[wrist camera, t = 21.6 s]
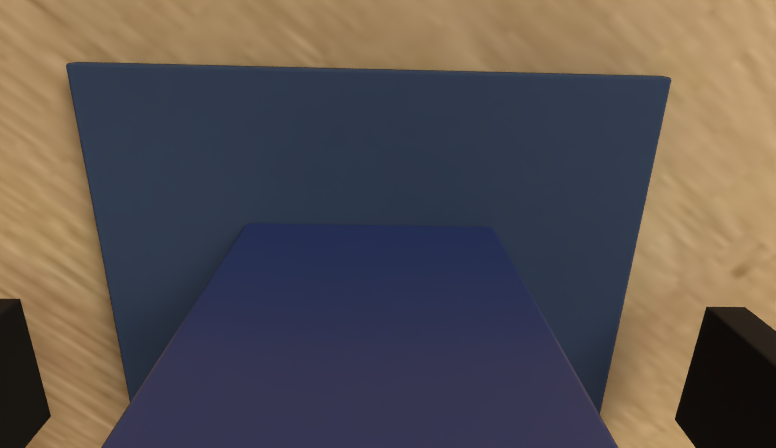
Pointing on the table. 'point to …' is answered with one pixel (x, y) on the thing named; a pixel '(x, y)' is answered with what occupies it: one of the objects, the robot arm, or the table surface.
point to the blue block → (363, 349)
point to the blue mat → (366, 178)
